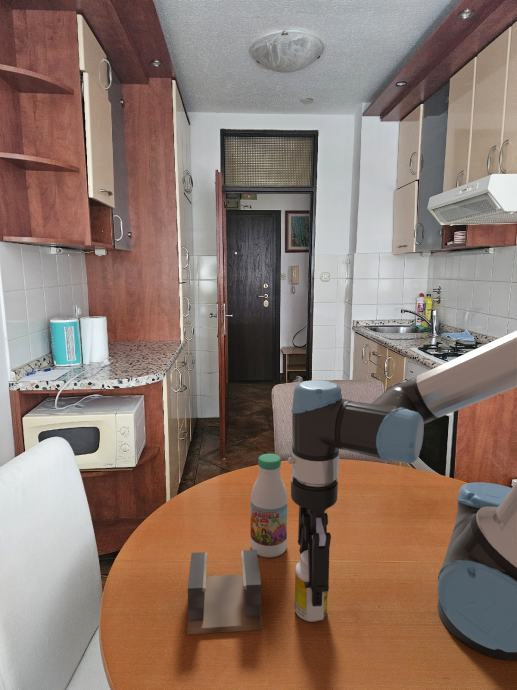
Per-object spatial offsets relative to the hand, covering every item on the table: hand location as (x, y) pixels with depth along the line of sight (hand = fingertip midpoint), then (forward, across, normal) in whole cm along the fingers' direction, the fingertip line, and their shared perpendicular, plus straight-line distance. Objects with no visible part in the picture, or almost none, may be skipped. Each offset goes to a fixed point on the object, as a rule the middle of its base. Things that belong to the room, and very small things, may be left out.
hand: (310, 603), depth 74 cm
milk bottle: (+2, -18, -5) cm, 19 cm away
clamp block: (+1, -3, -15) cm, 15 cm away
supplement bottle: (+2, 0, 0) cm, 2 cm away
